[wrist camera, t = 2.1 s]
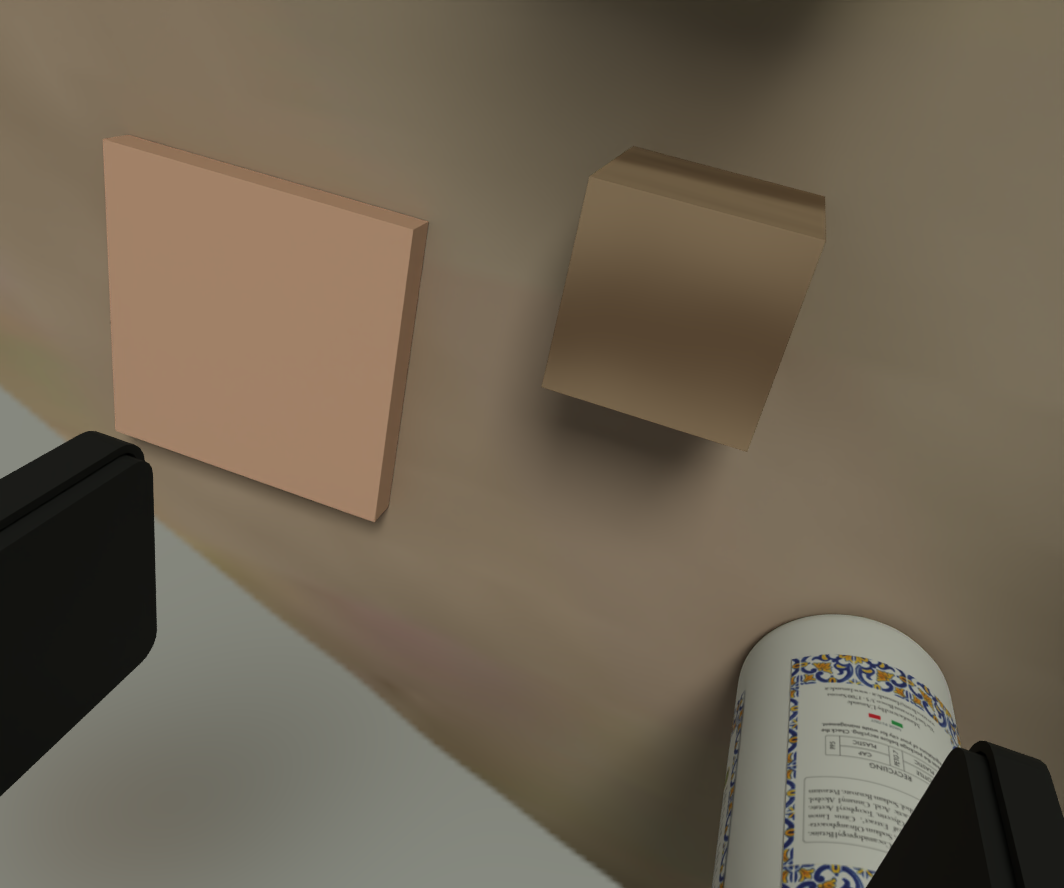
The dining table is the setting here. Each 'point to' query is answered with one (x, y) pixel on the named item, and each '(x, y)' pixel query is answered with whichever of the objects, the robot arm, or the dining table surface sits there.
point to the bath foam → (828, 753)
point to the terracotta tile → (259, 322)
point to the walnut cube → (683, 293)
